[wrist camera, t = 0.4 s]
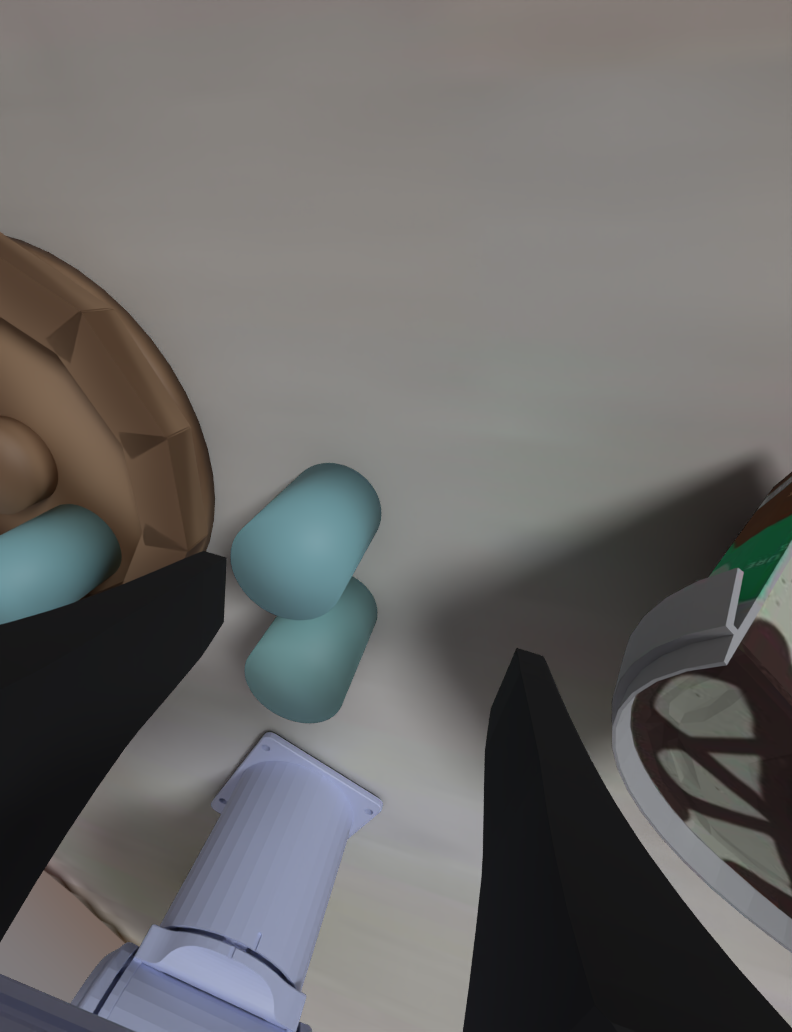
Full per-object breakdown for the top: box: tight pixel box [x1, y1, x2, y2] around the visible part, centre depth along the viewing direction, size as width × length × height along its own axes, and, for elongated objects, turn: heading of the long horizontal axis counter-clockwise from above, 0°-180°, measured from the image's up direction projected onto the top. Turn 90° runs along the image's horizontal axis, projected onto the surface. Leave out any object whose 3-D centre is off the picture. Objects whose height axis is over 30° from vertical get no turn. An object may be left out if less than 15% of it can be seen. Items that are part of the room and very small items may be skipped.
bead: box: [231, 463, 381, 620], centre depth 19 cm, size 4×4×5 cm
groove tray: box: [0, 232, 215, 601], centre depth 22 cm, size 18×18×2 cm
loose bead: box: [245, 577, 377, 723], centre depth 21 cm, size 4×4×5 cm
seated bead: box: [0, 504, 122, 624], centre depth 21 cm, size 4×4×5 cm
